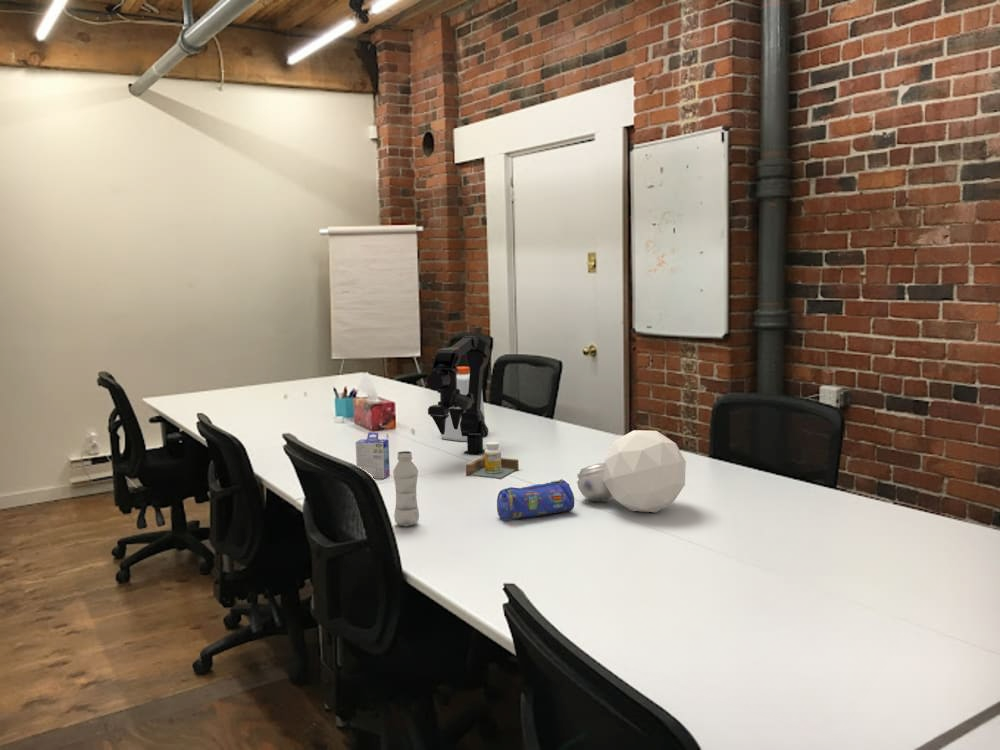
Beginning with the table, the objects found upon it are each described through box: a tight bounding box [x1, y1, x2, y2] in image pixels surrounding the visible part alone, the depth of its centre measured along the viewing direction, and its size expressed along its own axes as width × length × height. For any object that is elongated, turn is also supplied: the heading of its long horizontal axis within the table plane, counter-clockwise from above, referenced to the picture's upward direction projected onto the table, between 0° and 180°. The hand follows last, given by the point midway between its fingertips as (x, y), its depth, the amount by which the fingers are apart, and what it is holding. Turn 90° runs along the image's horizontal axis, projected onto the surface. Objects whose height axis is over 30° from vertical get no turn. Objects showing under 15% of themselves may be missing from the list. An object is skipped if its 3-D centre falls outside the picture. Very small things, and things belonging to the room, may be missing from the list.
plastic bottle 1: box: [392, 450, 420, 527], centre depth 228 cm, size 6×7×20 cm
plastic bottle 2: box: [440, 366, 486, 443], centre depth 334 cm, size 15×15×28 cm
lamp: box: [576, 429, 687, 513], centre depth 240 cm, size 22×34×24 cm, turn 49°
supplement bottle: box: [484, 441, 502, 473], centre depth 280 cm, size 5×5×10 cm
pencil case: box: [496, 478, 575, 521], centre depth 235 cm, size 22×9×10 cm, turn 114°
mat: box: [470, 467, 516, 480], centre depth 281 cm, size 11×11×1 cm
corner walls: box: [465, 455, 520, 477], centre depth 281 cm, size 13×13×4 cm
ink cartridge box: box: [355, 432, 391, 480], centre depth 279 cm, size 10×6×14 cm, turn 78°
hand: (449, 431), depth 289 cm, fingers open, 9 cm apart
